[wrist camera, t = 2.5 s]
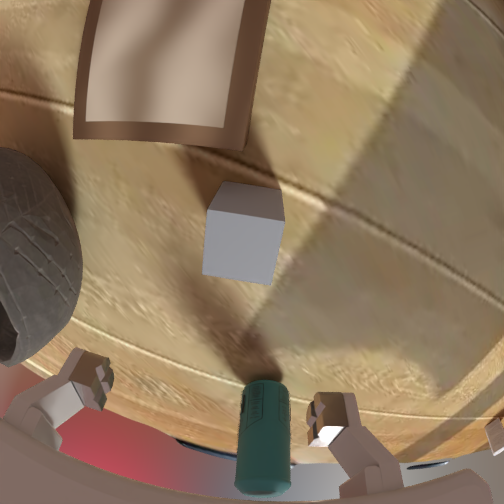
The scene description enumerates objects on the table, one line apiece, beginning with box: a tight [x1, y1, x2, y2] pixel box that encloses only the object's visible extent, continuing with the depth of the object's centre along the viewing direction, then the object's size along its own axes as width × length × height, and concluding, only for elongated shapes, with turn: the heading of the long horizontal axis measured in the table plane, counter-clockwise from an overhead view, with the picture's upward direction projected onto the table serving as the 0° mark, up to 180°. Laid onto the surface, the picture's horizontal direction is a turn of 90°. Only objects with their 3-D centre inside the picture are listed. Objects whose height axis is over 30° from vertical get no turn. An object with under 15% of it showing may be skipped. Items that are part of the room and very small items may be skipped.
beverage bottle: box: [234, 380, 292, 498], centre depth 29 cm, size 6×7×20 cm
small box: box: [485, 418, 504, 456], centre depth 47 cm, size 8×6×10 cm
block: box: [202, 181, 285, 285], centre depth 23 cm, size 5×5×7 cm
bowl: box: [0, 147, 83, 367], centre depth 21 cm, size 21×21×15 cm
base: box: [73, 0, 271, 151], centre depth 17 cm, size 14×14×4 cm
